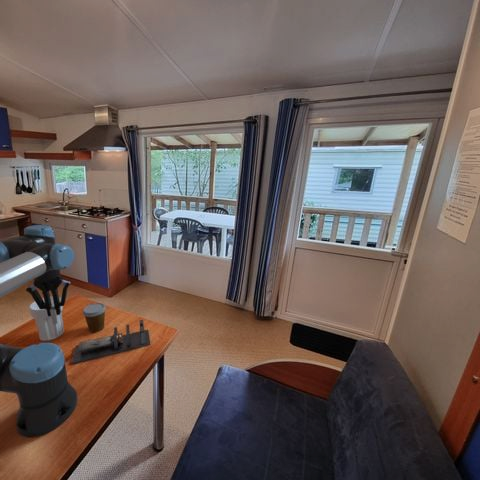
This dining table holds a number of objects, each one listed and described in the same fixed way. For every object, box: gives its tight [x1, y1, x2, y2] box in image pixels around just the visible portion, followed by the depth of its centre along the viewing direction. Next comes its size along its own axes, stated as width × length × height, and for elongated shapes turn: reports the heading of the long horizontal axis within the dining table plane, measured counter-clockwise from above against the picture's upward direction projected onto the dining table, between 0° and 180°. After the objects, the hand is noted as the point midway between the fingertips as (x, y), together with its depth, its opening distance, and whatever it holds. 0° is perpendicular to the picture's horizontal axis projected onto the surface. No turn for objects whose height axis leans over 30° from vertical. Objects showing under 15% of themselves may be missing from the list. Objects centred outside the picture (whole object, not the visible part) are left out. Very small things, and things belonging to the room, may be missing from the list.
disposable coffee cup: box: [82, 302, 107, 333], centre depth 110 cm, size 10×10×12 cm
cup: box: [29, 295, 65, 343], centre depth 102 cm, size 11×11×17 cm
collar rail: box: [71, 319, 151, 365], centre depth 100 cm, size 10×30×8 cm, turn 117°
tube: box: [78, 332, 123, 352], centre depth 98 cm, size 16×4×4 cm, turn 117°
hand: (56, 321), depth 88 cm, fingers closed
